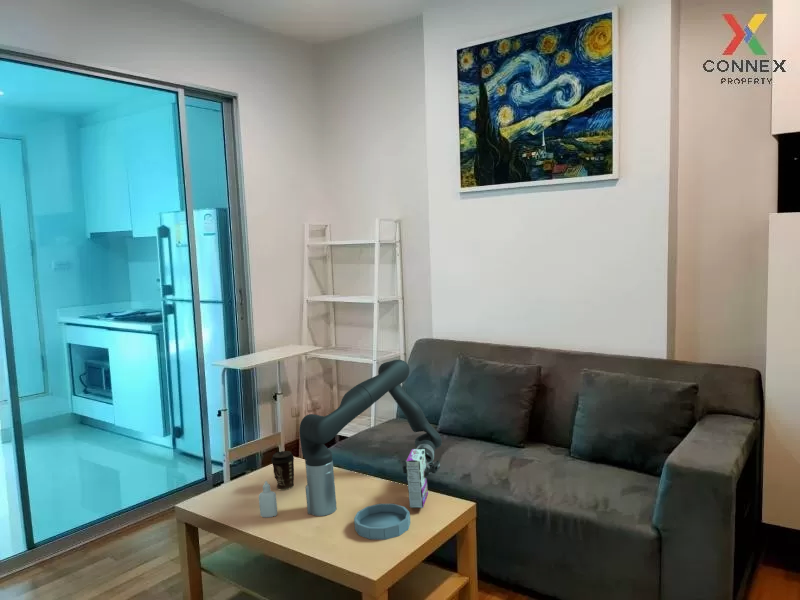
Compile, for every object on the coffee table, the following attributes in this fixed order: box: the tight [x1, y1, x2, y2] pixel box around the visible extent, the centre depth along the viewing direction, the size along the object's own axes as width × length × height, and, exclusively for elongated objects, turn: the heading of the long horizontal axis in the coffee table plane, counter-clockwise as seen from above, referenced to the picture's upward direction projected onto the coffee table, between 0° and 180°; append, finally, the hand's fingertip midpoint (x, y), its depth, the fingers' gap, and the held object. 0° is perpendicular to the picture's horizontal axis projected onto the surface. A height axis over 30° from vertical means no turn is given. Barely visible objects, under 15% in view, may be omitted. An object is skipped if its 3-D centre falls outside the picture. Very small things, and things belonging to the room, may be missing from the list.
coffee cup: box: [270, 450, 295, 491], centre depth 223 cm, size 9×8×13 cm
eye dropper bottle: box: [258, 480, 278, 518], centre depth 199 cm, size 4×6×12 cm
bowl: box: [353, 503, 411, 540], centre depth 186 cm, size 17×17×4 cm
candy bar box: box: [405, 448, 429, 509], centre depth 198 cm, size 11×5×16 cm, turn 169°
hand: (417, 475), depth 199 cm, fingers closed on candy bar box, 5 cm apart
